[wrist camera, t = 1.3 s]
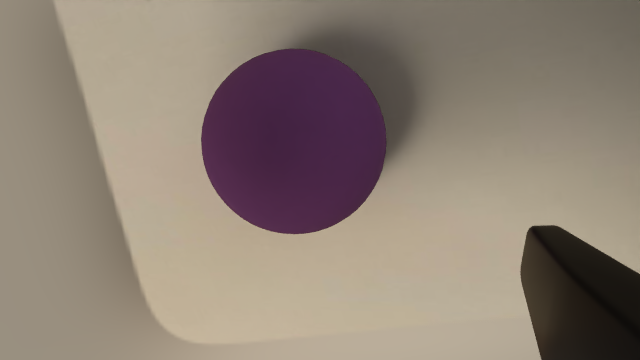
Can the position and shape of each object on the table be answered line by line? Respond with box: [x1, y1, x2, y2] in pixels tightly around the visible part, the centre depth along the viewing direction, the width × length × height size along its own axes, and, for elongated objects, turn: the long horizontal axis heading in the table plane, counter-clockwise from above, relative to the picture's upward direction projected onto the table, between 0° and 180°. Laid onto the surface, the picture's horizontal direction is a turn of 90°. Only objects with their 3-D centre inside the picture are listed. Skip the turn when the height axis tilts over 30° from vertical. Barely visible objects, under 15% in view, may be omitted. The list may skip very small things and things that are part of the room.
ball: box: [201, 49, 386, 234], centre depth 17 cm, size 6×6×6 cm
